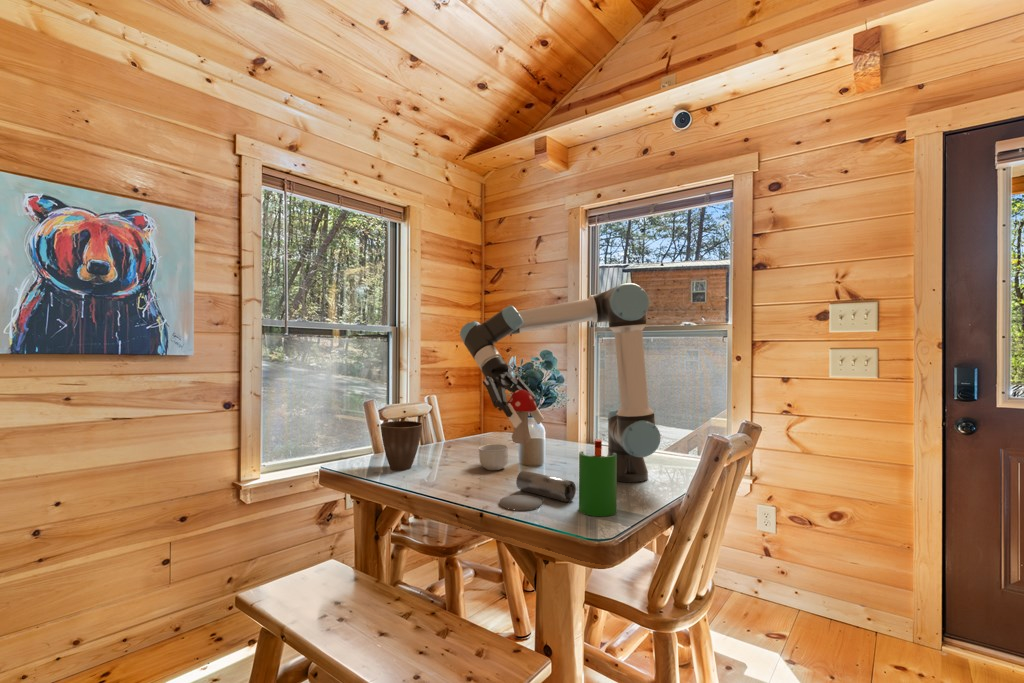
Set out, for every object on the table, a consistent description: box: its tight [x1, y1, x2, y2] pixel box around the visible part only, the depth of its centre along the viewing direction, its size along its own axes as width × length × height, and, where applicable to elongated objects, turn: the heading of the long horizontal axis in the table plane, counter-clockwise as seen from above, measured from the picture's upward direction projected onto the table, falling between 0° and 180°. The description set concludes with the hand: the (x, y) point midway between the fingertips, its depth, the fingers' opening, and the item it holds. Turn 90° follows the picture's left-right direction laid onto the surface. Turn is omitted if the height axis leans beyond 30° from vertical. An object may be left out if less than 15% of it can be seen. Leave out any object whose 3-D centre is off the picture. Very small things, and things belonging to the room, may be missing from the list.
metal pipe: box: [516, 470, 577, 503], centre depth 156 cm, size 6×18×6 cm, turn 47°
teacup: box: [478, 443, 509, 471], centre depth 191 cm, size 14×11×8 cm
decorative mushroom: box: [507, 389, 538, 445], centre depth 149 cm, size 10×9×15 cm
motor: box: [578, 438, 618, 517], centre depth 142 cm, size 10×9×20 cm
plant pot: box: [380, 420, 423, 471], centre depth 189 cm, size 15×15×16 cm
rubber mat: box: [499, 494, 543, 511], centre depth 148 cm, size 12×12×1 cm
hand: (530, 422), depth 147 cm, fingers closed on decorative mushroom, 9 cm apart
